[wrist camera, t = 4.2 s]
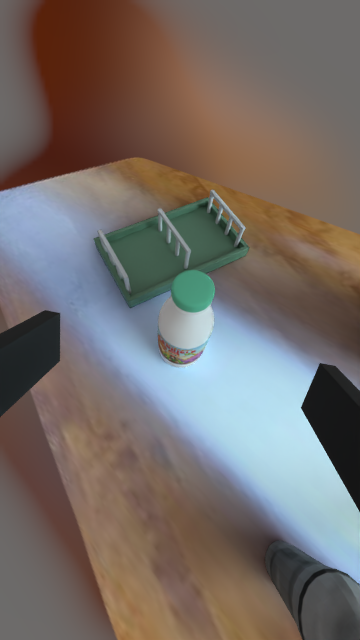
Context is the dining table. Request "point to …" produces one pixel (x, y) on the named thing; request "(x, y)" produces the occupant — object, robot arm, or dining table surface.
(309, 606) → the beverage cup
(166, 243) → the drying rack
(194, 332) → the milk bottle
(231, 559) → the dining table surface
